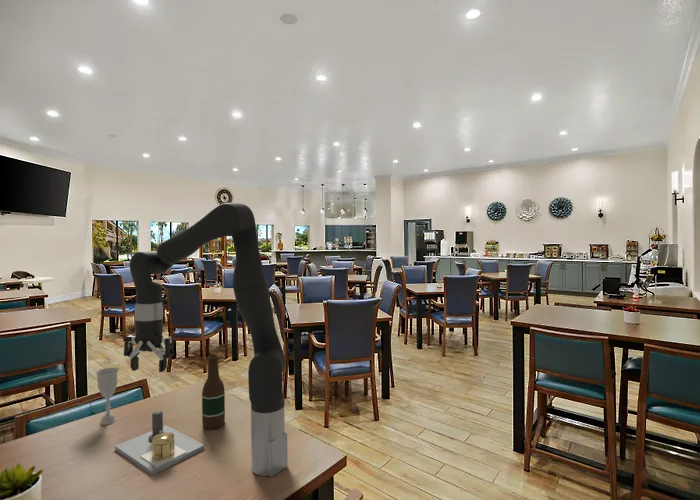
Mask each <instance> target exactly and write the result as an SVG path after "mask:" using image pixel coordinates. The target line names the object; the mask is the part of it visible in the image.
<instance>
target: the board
mask: <svg viewBox="0 0 700 500" xmlns="http://www.w3.org/2000/svg"><path fill="white" fill-rule="evenodd" d="M163 414H164V412H163V411H162V410H156V411H153V412H152V414H151V420H152V421H151V425H152V426H151V428H152V429H151V431H147V432H145V433H143V434H141V435H138V436H136V437H133V438H131V439H129V440H127V441H124V442H122V443H119V444H117V445H116V444H115V446H114V450H115V451H116V452H117V453H119V454H120V455H122V456H124V457H125V458H126V459H128V460H129V461H130V462H132V463H134V464H135V465H136V466H138V467H140V468H141V469H142V470H143V471H145V472H147V473H148V474H150V475H151V476H153V475H156V474H157V473H159V472H161V471H164V470H166V469H168V468H169V467H172V466H173V465H176V464H177V463H179V462H182V461H183V460H186V459H188V458H189V457H191V456H193V455H195V454H197V453H199V452H201V451H203V450H205V444H203V443H201V442H199V441H198V440H195V439H193V438H192V437H190V436H189V435H188V436H187V435H186V434H183V433H182V432H180V431H178V430H176V429H175V428H173V427H170V426H168V425H164V423H163V422H164V421H163V420H164V418H163V417H164V416H163ZM165 432H171V433H173V434H174V444H175V453H174V454H173V455H172V456H170V457H168V458H166V459H163V460H155V459H153V457H152V438H153V437H154V436H156V435H158V434H160V433H165Z"/></svg>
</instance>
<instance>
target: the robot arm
mask: <svg viewBox="0 0 700 500" xmlns="http://www.w3.org/2000/svg"><path fill="white" fill-rule="evenodd" d="M257 235H258V233H257V225H256V219H255V215H254V213H253V211H252V209H251V208H250V206H248V205H246V204H244V203H239V202H238V203H237V202H225V203H220V204H219V205H217V206H216V207H214V208H213V209H211V211H209V212H208V213H207V214H206V215H205V216H204V217H202V218H200V220H198V221H196V223H194V224H193V225H191V226H190V227H188V228H187V229H185V230H183V231H182V232H179V233H177V234H175V235H173V236H172V237H170V238H168V239H166V240H164V241H163V242H161V243H160V244H159V245H158V246H157V250H153V251H151V250H150V251H138V252H137V251H136V252H134V254H133V255H132V256H131V257H130V261H129V271H130V274H131V278H132V281H133V284H134V288H135V309H134V334H135V335H134V334H130V335H127V336H125V337H124V346H123V356H124V357H128V358H130V369H131V371H133V372H136V371H137V370H139V365H140V364H139V363H140V362H139V355H140V354H141V352H149V353H150V352H151V353H152V352H153V353H154V355H156V356H157V357H158V358H159V360H158V373H163V372H165V371H166V370H167V368H168V359H169V358H171V357H173V356H174V353H175V351H174V337H173V336H168V337H164V336H163V332H164V306H163V285H162V284H161V283H159V282H155V281H154V280H153V279H152V275H159V274H162V273H165V272H167V271H168V270H169V269H171V268H172V267H173V266H174V265H175V264H176V263H179V262H180V261H183V260H184V259H186V258H188V257H190V256H191V255H193V254H195V253H196V252H197V251H198V250H199V249H201V247H202V246H204V245H205V244H207V243H209V242H211V241H214V240H216V239H220V238H225V237H231V238H232V241H233V246H234V251H235V261H234V262H235V263H234V269H233V276H232V288H233V293H234V299H235V301H236V302H235V303H236V306H237V308H238V311H239V314H240V315H241V317H242V319H243V320H244V323H245V325H246V326H247V328H248V331H249V332H250V336H251V341H252V346H253V356H252V359H251V360H250V362H249V365H248V371H247V372H248V373H247V374H248V376H247V377H248V380H247V381H248V398H249V402H250V431H251V432H250V434H251V438H250V440H251V442H250V443H251V452H250V453H251V471H252V472H253V473H254V474H255V475H257V476H261V477H267V476H269V477H271V478H272V477H274V476H275V475H277V474H279V473H280V472H281V471H283V470H284V469H286V468H287V467H288V462H289V461H288V433H287V432H285V431H286V430H285V427H286V426H285V425H286V424H285V421H286V420H285V409H286V408H285V394H284V391H283V385H284V384H283V373H284V370H285V367H286V356H285V353H284V350H283V347H282V344H281V342H280V339H279V335H278V333H277V329H276V325H275V319H274V312H273V307H272V302H271V296H270V292H269V288H268V284H267V283H268V282H267V280H266V279H267V278H266V275H265V271H264V267H263V261H262V257H261V253H260V248H259V242H258V236H257ZM134 343H135V344H136V346H134ZM162 343H163V344H162ZM163 345H164V346H163Z"/></svg>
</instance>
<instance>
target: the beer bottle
mask: <svg viewBox="0 0 700 500" xmlns="http://www.w3.org/2000/svg"><path fill="white" fill-rule="evenodd" d="M219 359H220V358H219V355H218V354H217V355H216V354H211V355H209V356H208V357H207V361H208V365H207V378H206V381H205V382H204V385H203V387H202V392H201V406H202V407H201V408H202V409H201V410H202V411H201V415H202V416H201V417H202V418H201V419H202V428H203V429H205V430H208V431H210V430H218V429H220V428H221V427H223V426H224V425H225V420H226V418H225V417H226V409H225V408H226V399H225V395H226V394H225V393H226V391H225V390H226V389H225V385H224V382H223V380H222V379H221V378H220V372H219V371H220V370H219V362H218V361H219Z"/></svg>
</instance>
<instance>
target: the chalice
mask: <svg viewBox="0 0 700 500" xmlns="http://www.w3.org/2000/svg"><path fill="white" fill-rule="evenodd" d="M118 373H119V368H118V367H106V368H102V369H99V370H97V371H96V372H95V374H96V376H97V389H98V391H99V392H100V394H101V396H102V397H103V398H106V400H105V405H106V407H105V410H106V413H105V414H104V415H102V417H101V420H100V422H99V425H100V426H101V425H103V426H108V425H111V424H113V423H116V422H117V420H118V419H117V418H116V415H115V414H114V413H113V412H111V411H110V410H111V409H112V407H111V405H110V404H111V401H110V400H111V399H110V398H111V397H113V394H114V393H115V391H116V388H117V385H118Z"/></svg>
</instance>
